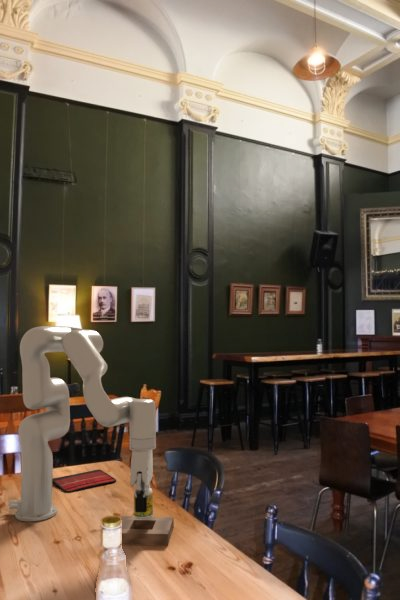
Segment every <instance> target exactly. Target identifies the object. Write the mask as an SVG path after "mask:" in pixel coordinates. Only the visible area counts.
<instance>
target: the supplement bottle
mask: <svg viewBox="0 0 400 600" xmlns="http://www.w3.org/2000/svg"><path fill="white" fill-rule="evenodd" d="M141 486H144V484H141ZM141 490H143V488H141ZM135 491H136V488H135V489H134V490H133V516H135V518H137V519H148V518H150V517H153V516H154V503H153V501H154V495H153V494H154V493H153V489H152V488H151V482H150V483H149V484H148V486H146V497H147V511H146V512H135Z"/></svg>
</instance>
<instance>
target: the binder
mask: <svg viewBox="0 0 400 600" xmlns="http://www.w3.org/2000/svg"><path fill="white" fill-rule="evenodd" d="M115 483H117V479H116V478H115V477H113V476H111V474H108V473H107V472H105V471H103V470H102V469H94V470H89V471H83V472H79V473H75V474H70V475H64V476H59V477H54V478H53V477H52V484H55V487H56V488H57V489H58V490H61V491H62V492H63V493H66V494H69V493H70V494H71V493H75V492H78V491H82V490H83V491H84V490H87V489H92V488H96V487H99V486H104V485H105V486H106V485H111V484H115Z"/></svg>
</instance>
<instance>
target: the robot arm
mask: <svg viewBox="0 0 400 600" xmlns="http://www.w3.org/2000/svg"><path fill="white" fill-rule="evenodd" d="M103 348H104V340H103V338H102V336H101V334H100V333H99V332H97V331H96V330H94V329H86V328H85V329H84V328H78V327H73V326H60V325H59V326H58V325H57V326H55V325H52V326H51V325H41V326H36V327H32V328H30V329H28V330H27V331H26V332H25V333H24V334H23V336H22V337H21V340H20V344H19V355H20V360H21V366H22V367H21V368H22V378H21V379H22V401H23V404H24V406H25V407H26V408H27V409H29V410H39V409H40V410H41V409H45V410H46V411H41V412H37V413H33V414H30V415H28V416H26V417H24V418H23V419H22V420H21V421H20V423H19V425H18V438H19V444H20V452H21V453H20V454H21V462H20V463H21V464H20V465H21V467H20V468H21V469H20V470H21V471H20V477H21V479H20V499H19V500H18V499H17V500H16V499H11V500H9V502H8V507H9V509H15V510H16V511H15V515H14V516H15V519H16V520H18V521H21V522H39V521H43V520H48V519H50V518H52V517H54V516H55V515H56V514H57V513H58V508H57V506H56V505H54V504H53V483H52V479H53V477H54V476H53V474H54V473H53V472H54V471H53V470H54V469H53V468H54V467H53V464H54V463H53V460H54V459H53V453H52V450H51V449H52V448H51V447H50V445H49V443H48V442H51V441H54V440H57V439H60V438H62V437H64V436H65V435H66V434H67V433H68V431H69V430H70V425H71V412H70V411H71V409H70V408H71V407H70V406H71V405H70V404H71V403H70V391H69V387H68V384H67V383H66V382H65V381H64V380H63V379H62V378H59V377H51V368H50V362H49V360H48V358H47V357H46V355H45V354H46V353H61V352H63V353H65V355H66V356H67V358H68V359H69V361H70V362H71V364H72V366H73V367H74V369H75V370H76V371H77V373H78V374H79V377H80V378H81V379H82V381H83V382H82V383H83V384H82V393H83V400H84V402H85V405H86V407H87V408H88V410H89V412H90V413H91V415H92V416H93V418H94V419H95V420H96V422H97V423H99V424H100V425H101V426H103V427H106V428H112V427H115V426H119V425H122V424H126V423H129V450H130V451H131V458H130V459H131V461H130V477H129V478H130V480H129V483H130V484H129V485H130V487H131V488H132V487H133V488H134V486H135V489H136V491H135V512H146V511H147V497H146V486H148V484H149V483H150V484H151V481H152V479H153V473H154V469H153V468H154V460H153V453H154V452H153V450H155V449H157V436H156V435H157V434H156V432H157V431H156V430H157V424H156V423H157V422H156V421H157V420H156V418H157V414H156V413H157V412H156V402H155V400H154V399H151V398H134V397H130V396H121V397H116V398H110V397H109V396H108V394H107V393H106V391H105V390H104V387H103V383H102V377H103V376H104V375H105V374H106V372H107V371H108V363H107V362H106V360H104V358H103V356H102V355H101V354H100V353H101V352H102V351H103ZM141 484H144V486H141ZM141 488H143V490H141Z"/></svg>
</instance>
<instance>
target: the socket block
mask: <svg viewBox="0 0 400 600" xmlns="http://www.w3.org/2000/svg"><path fill="white" fill-rule="evenodd" d="M119 517H120V518H121V520H122V544H121V545H126V546H127V545H129V546H131V545H132V546H134V545H135V546H169V544H170V540H171V538H172V534H173V531H174V527H175V526H174V524H175V523H174V516H152V517H150V518H148V519H137V518H135V516H134V515H133V516H132V515H131V516H130V515H129V516H128V515H120V516H119Z"/></svg>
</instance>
